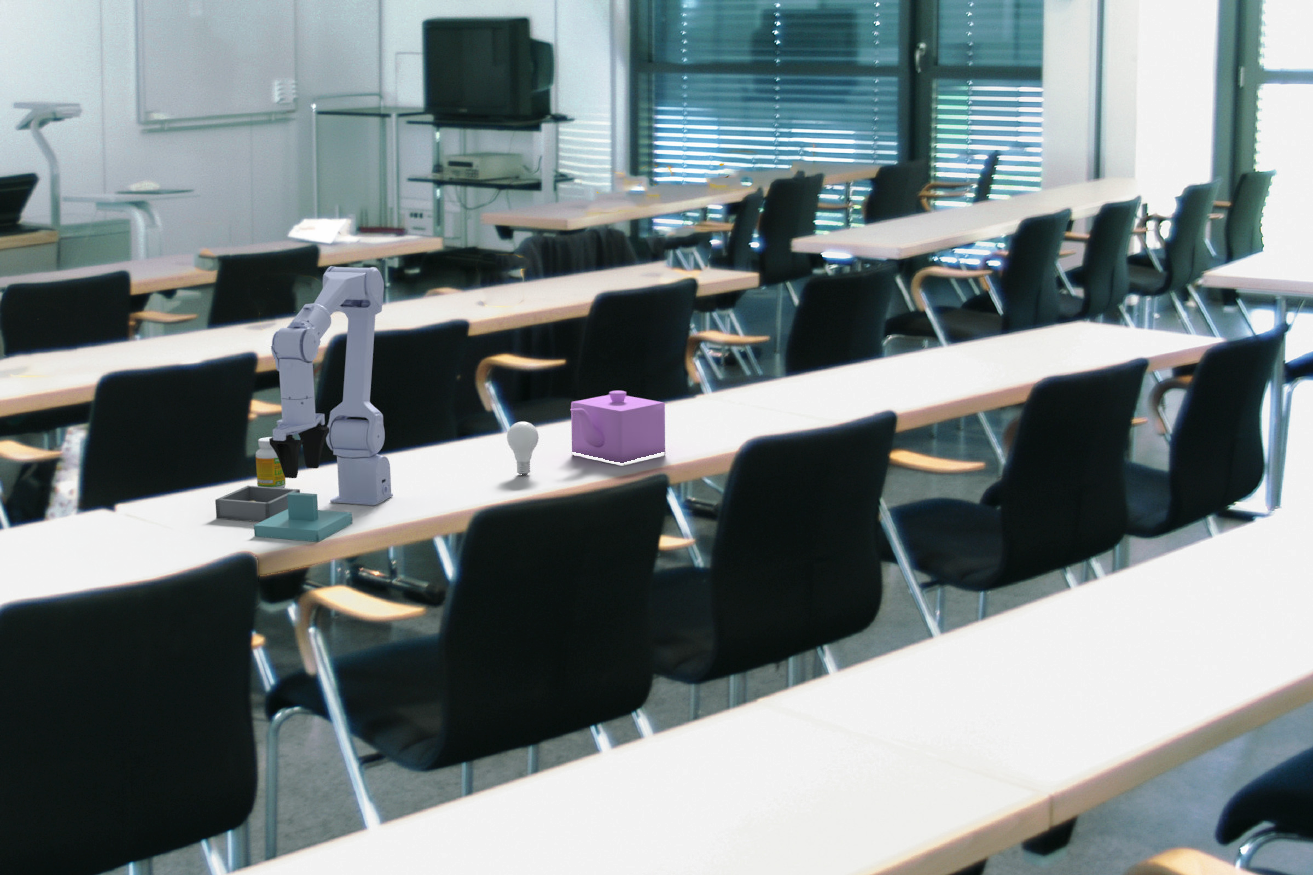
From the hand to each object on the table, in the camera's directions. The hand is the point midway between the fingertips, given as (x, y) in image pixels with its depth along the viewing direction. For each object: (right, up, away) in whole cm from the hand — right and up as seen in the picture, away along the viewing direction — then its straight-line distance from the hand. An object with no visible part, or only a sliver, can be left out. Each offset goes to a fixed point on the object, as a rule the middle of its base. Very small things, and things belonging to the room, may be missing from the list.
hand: (301, 472), depth 275 cm
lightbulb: (+35, -2, +42) cm, 55 cm away
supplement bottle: (-13, -4, +33) cm, 36 cm away
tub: (-11, -8, +14) cm, 19 cm away
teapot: (+53, +2, +58) cm, 79 cm away
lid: (0, -10, +2) cm, 10 cm away
